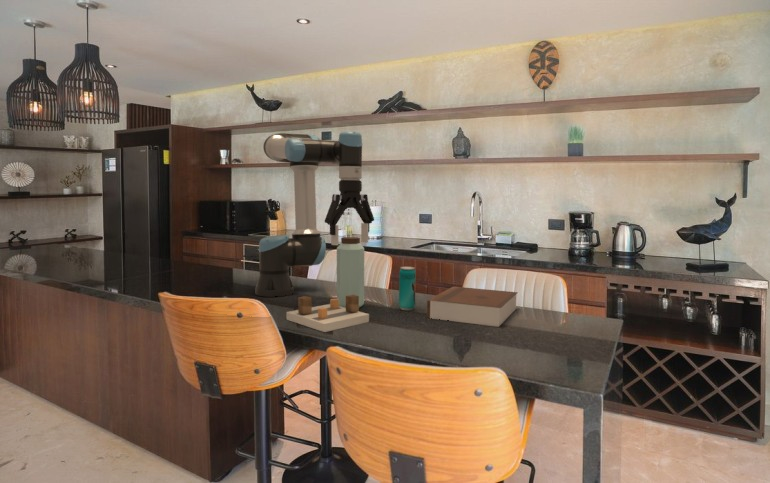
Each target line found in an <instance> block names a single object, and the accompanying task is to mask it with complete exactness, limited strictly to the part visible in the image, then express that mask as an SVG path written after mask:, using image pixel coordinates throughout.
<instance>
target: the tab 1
mask: <svg viewBox="0 0 770 483" xmlns="http://www.w3.org/2000/svg"><path fill="white" fill-rule="evenodd" d="M297 301H298V304H297V305H298V306H297V307H298V308H297V310H298V313H300V314H309V313H312V307H313V304H312V297H310V296H307V295H305V296H300V297H298V298H297Z"/></svg>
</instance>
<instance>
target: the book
mask: <svg viewBox="0 0 770 483" xmlns="http://www.w3.org/2000/svg"><path fill="white" fill-rule="evenodd" d="M518 293H519V292H517V291H508V290H507V291H506V290H495V289H487V288H485V289H484V288H474V287H473V288H471V287H464V286H452V287H449V288H448V289H446V290H443V291H441V292H440V293H439V294H436V295H434V296H433V297H431V298H430V299H427V300H426V319H429V318H430V320H431V318H432V320H439V319H440V320H441V321H447V320H449V321H448V322H457V323H464V324H474V325H480V326H481V325H482V326H489V327H498V328H499V327H500V326H501V325H502V324H504V323H505V321H506V320H507V319H508V318H509V317H510V316H511V315H512V314H513V313H514V312H515V310H516V309H517V294H518Z"/></svg>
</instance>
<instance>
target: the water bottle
mask: <svg viewBox="0 0 770 483" xmlns="http://www.w3.org/2000/svg"><path fill="white" fill-rule="evenodd" d="M340 240H341V243H340V244H338V245H337V247H336V299H339V306H340V307H344V308H346V296H348V295H357V296H359V308H361V307H363V305H364V304H365V247H364V246H363V245H362V243H361V237H358V236H344V237H341V239H340Z"/></svg>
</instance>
